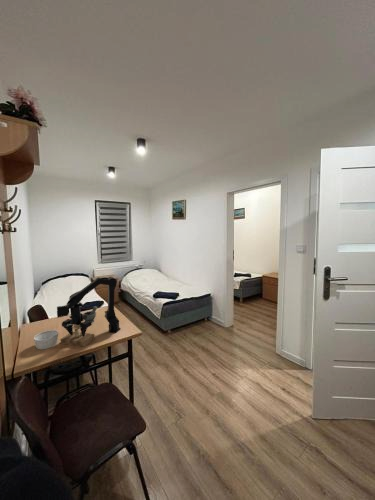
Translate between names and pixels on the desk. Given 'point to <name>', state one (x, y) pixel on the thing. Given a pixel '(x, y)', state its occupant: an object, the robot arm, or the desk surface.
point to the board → (78, 342)
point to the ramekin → (46, 339)
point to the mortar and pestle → (91, 315)
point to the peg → (77, 333)
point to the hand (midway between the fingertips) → (77, 335)
